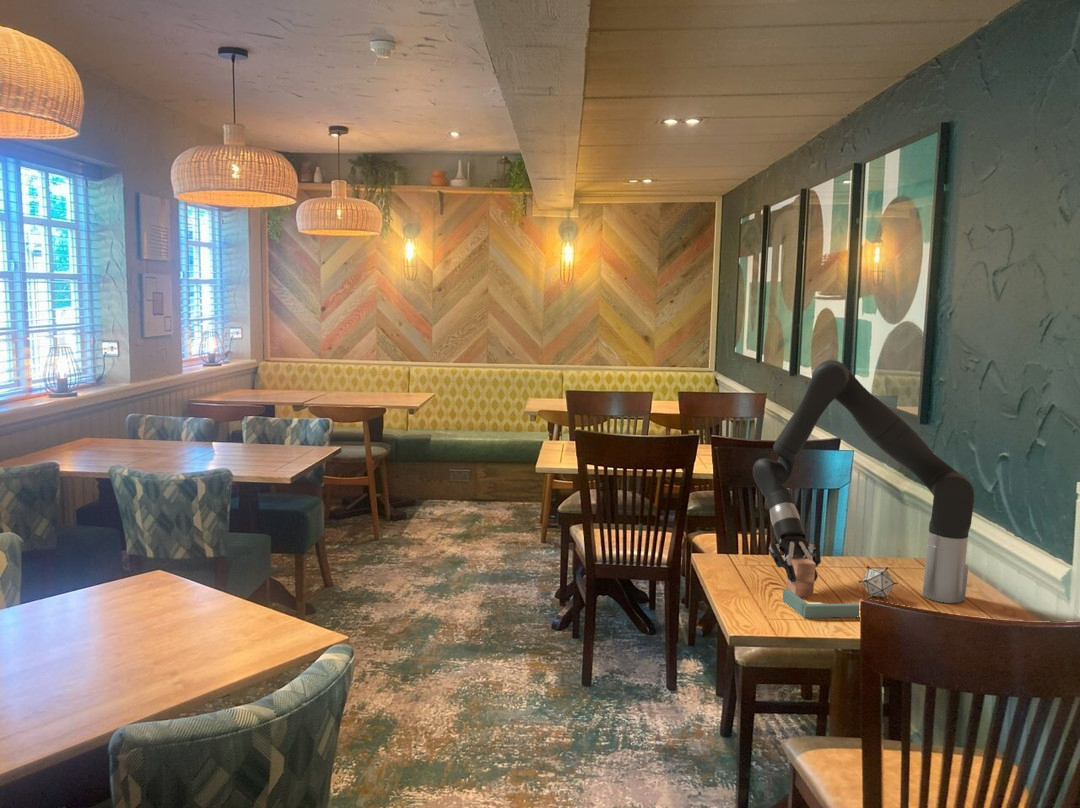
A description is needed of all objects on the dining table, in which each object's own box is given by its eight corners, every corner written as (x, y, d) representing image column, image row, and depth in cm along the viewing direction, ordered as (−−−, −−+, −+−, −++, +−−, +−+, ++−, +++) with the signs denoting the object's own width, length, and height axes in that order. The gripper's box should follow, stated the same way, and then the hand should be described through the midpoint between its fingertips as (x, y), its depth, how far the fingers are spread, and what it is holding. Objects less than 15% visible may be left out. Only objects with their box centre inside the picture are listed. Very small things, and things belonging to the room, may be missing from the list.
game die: (880, 613, 206) (890, 592, 199) (849, 595, 210) (858, 573, 203) (896, 591, 210) (906, 569, 203) (865, 573, 215) (875, 551, 208)
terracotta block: (803, 590, 210) (806, 557, 209) (812, 597, 205) (815, 563, 204) (786, 590, 209) (788, 557, 208) (794, 597, 204) (797, 563, 203)
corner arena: (840, 600, 204) (841, 588, 203) (866, 617, 192) (867, 605, 192) (782, 600, 201) (783, 589, 201) (804, 618, 190) (805, 606, 189)
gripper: (766, 516, 211) (783, 574, 201) (816, 516, 213) (836, 574, 203) (756, 530, 217) (772, 587, 206) (805, 530, 219) (824, 587, 209)
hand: (804, 580), depth 205 cm, fingers closed on terracotta block, 5 cm apart
